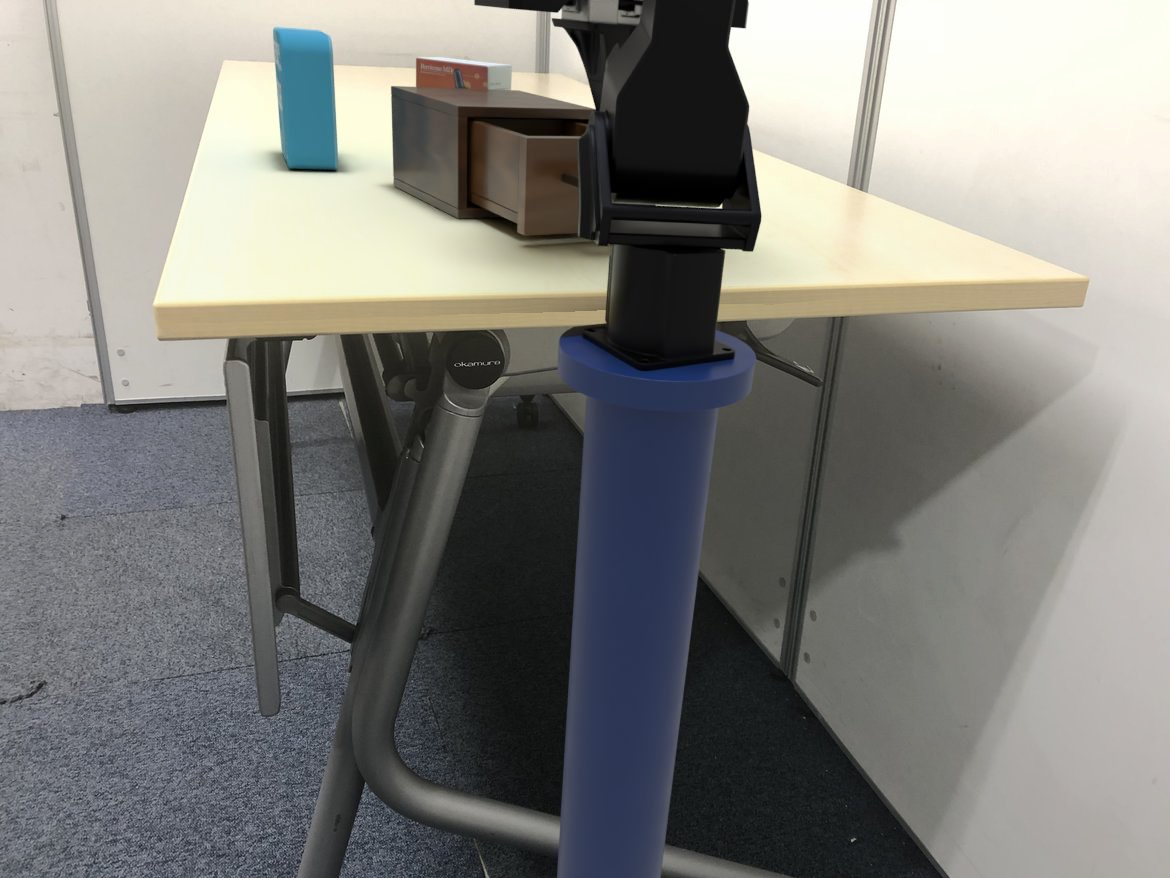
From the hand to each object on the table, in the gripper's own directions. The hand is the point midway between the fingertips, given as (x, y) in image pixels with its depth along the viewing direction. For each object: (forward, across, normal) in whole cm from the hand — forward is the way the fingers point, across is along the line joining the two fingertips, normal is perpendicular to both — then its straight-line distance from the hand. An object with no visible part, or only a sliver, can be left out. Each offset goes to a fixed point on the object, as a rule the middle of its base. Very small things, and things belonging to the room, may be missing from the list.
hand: (609, 130), depth 70 cm
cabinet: (+8, 0, -20) cm, 21 cm away
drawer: (+8, 0, -6) cm, 10 cm away
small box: (+8, -4, -34) cm, 36 cm away
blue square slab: (+8, +10, -40) cm, 43 cm away
